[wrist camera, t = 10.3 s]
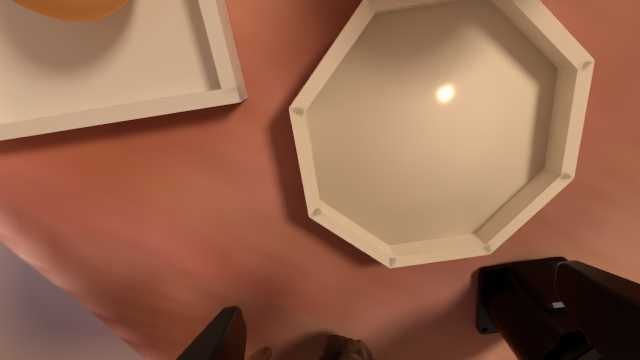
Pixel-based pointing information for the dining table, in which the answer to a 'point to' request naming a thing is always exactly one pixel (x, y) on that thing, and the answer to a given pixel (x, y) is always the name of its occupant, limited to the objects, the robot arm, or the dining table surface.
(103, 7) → the ball
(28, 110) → the tray
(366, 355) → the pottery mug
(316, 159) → the bowl
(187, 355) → the robot arm
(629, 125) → the dining table surface
